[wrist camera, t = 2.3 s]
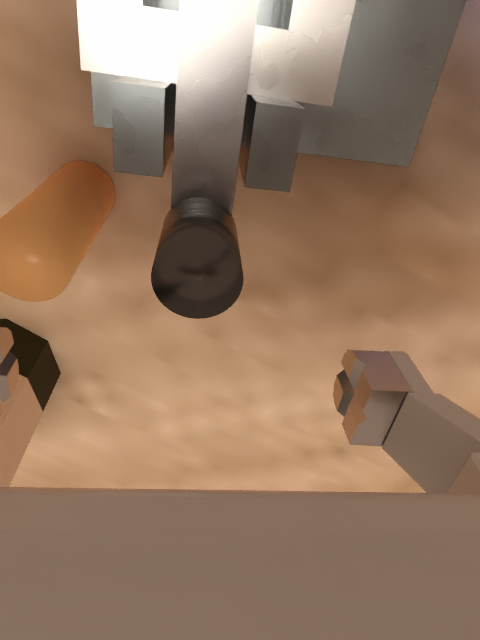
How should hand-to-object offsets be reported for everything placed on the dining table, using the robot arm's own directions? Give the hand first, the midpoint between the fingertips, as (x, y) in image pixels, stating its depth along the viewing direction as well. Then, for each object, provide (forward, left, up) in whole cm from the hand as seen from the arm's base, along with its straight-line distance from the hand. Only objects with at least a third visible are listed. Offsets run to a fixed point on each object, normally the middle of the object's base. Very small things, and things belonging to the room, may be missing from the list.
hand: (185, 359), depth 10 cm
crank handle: (0, -6, -10) cm, 12 cm away
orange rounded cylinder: (+7, +2, -18) cm, 19 cm away
